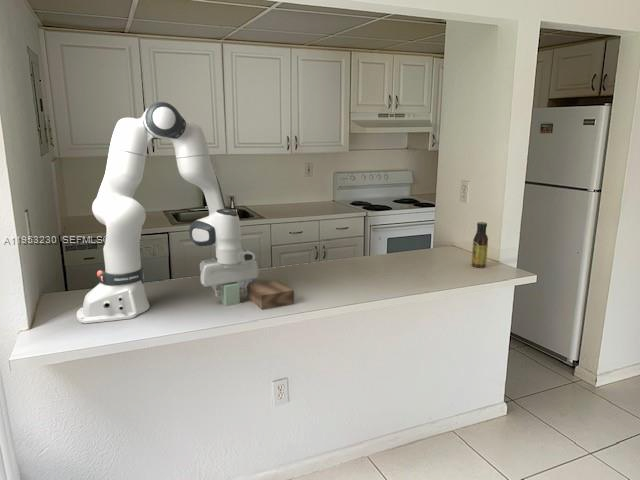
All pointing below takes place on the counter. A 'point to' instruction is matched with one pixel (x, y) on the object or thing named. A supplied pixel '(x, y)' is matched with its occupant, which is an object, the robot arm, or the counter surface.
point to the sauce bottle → (480, 246)
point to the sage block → (230, 293)
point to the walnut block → (270, 294)
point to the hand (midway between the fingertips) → (230, 293)
